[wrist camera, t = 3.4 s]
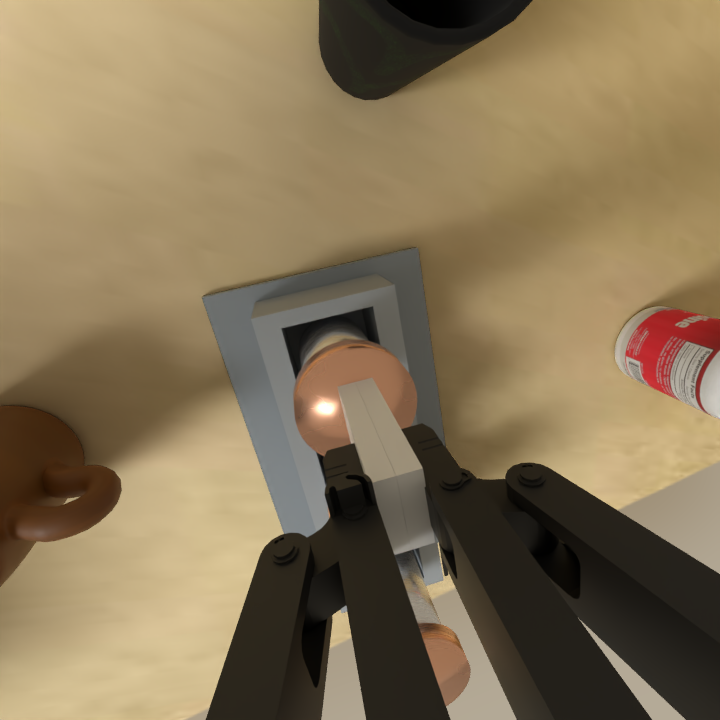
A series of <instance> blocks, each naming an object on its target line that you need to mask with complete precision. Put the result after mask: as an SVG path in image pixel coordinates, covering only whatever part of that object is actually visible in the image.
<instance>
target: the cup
mask: <svg viewBox="0 0 720 720" xmlns="http://www.w3.org/2000/svg"><path fill="white" fill-rule="evenodd" d="M531 2H532V0H319V45H320V51H321V57H322V59H323V62H324V65H325V67H326V70H327V71H328V73H329V74H330V76H331V78H332V79H333V81H334V82H335V83H336V84H337V85H338V86H339V87H340V88H341V89H342V90H343V91H345V92H347V93H348V94H350V95H352V96H353V97H357V98H360V99H364V100H377V99H380V98H383V97H387V96H389V95H390V94H392V93H394V92H395V91H397V90H399V89H400V88H402V87H404V86H406V85H407V84H409V83H411V82H412V81H414V80H416V79H417V78H419V77H421V76H423V75H424V74H426V73H428V72H429V71H431V70H433V69H435V68H436V67H438V66H440V65H441V64H443V63H445V62H446V61H448V60H450V59H452V58H453V57H455V56H457V55H458V54H460V53H462V52H463V51H465V50H467V49H469V48H470V47H472V46H474V45H475V44H477V43H479V42H480V41H482V40H484V39H486V38H487V37H489V36H491V35H492V34H494V33H495V32H497V31H498V30H500V29H501V28H503V27H505V26H506V25H508V24H509V23H511V22H512V21H514V20H515V19H516V18H517V17H518V16H519V14H520V13H521V12H522V11H523V10H524V9H525V8H526V7H527V6H528V5H529V4H530V3H531Z"/></svg>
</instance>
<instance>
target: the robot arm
mask: <svg viewBox="0 0 720 720" xmlns="http://www.w3.org/2000/svg"><path fill="white" fill-rule="evenodd" d="M338 392H339V396H340V400H341V404H342V408H343V412H344V416H345V421H346V425H347V429H348V433H349V437H350V441H351V444H349V445H345V446H341V447H338V448H334V449H331V450H327V452H326V454H325V457H324V459H323V464H324V469H325V475H326V481H327V486H326V488H325V494H324V495H325V498H326V502H327V505H328V509H329V512H330V518H329V519H328V521H327V523H326V524H325V525H324V526H323V527H322V528H321V529H320V530H318V531H317V532H315V533H314V534H312V535H310V536H309V537H307V538H306V536H304V535H302V534H300V533H286V534H283V535H280V536H278V537H276V538H275V539H273V540H271V541H270V542H269V543H268V544H267V545H266V546H265V547H264V549H263V551H262V553H261V555H260V557H259V560H258V564H257V567H256V570H255V573H254V576H253V579H252V582H251V585H250V588H249V591H248V594H247V597H246V600H245V603H244V606H243V609H242V612H241V615H240V618H239V621H238V624H237V627H236V630H235V633H234V636H233V639H232V642H231V645H230V648H229V651H228V654H227V657H226V660H225V663H224V666H223V669H222V672H221V675H220V678H219V681H218V684H217V687H216V690H215V693H214V696H213V699H212V702H211V705H210V708H209V711H208V714H207V718H206V720H321V717H322V708H323V699H324V690H325V681H326V673H327V663H328V655H329V646H330V637H331V629H332V615H333V614H334V613H336V612H337V611H339V610H340V609H342V608H343V607H345V606H347V612H348V617H349V623H350V629H351V635H352V640H353V646H354V651H355V657H356V663H357V669H358V674H359V680H360V686H361V692H362V697H363V703H364V709H365V715H366V720H450V717H449V714H448V711H447V708H446V705H445V702H444V699H443V696H442V694H441V691H440V688H439V685H438V682H437V679H436V676H435V673H434V670H433V667H432V664H431V661H430V658H429V655H428V652H427V649H426V646H425V643H424V641H423V638H422V635H421V632H420V629H419V626H418V623H417V620H416V617H415V614H414V611H413V608H412V605H411V602H410V599H409V596H408V593H407V590H406V587H405V585H404V582H403V579H402V576H401V573H400V570H399V567H398V564H397V561H396V558H395V555H396V554H400V553H403V552H406V551H409V550H413V549H416V548H419V547H422V546H426V545H429V544H432V543H435V538H434V533H435V535H436V537H437V539H438V541H439V546H440V552H441V558H442V564H443V570H444V575H445V576H447V575H448V572H449V574H450V576H451V578H452V580H453V583H454V585H455V587H456V589H457V591H458V593H459V595H460V598H461V600H462V602H463V604H464V606H465V609H466V610H467V612H468V615H469V617H470V619H471V621H472V624H473V626H474V628H475V630H476V632H477V634H478V637H479V638H480V641H481V643H482V645H483V647H484V650H485V652H486V654H487V656H488V658H489V660H490V662H491V664H492V667H493V669H494V671H495V673H496V675H497V677H498V680H499V682H500V684H501V686H502V688H503V691H504V693H505V695H506V697H507V699H508V701H509V704H510V706H511V708H512V710H513V712H514V714H515V716H516V718H517V720H652V719H651V718H650V716H649V715H648V713H647V712H646V711H645V710H644V708H643V707H642V705H641V704H640V702H639V701H638V700H637V698H636V697H635V696H634V694H633V693H632V692H631V690H630V689H629V687H628V686H627V685H626V683H625V682H624V681H623V679H622V678H621V676H620V675H619V674H618V672H617V671H616V670H615V668H614V667H613V666H612V664H611V663H610V662H609V660H608V659H607V657H606V656H605V654H604V653H603V652H602V650H601V649H600V648H599V646H598V645H597V643H596V642H595V641H594V639H593V638H592V637H591V635H590V634H589V633H588V631H587V630H586V628H585V627H584V626H583V624H582V623H581V621H582V622H583V623H584V624H586V626H588V627H589V628H590V629H591V630H592V631H593V632H594V633H595V634H596V635H597V636H598V637H599V638H600V639H601V640H602V641H603V642H605V644H607V645H608V646H609V647H610V648H611V649H612V650H613V651H614V652H615V653H616V654H617V655H618V656H619V657H620V658H621V659H622V660H623V661H624V662H626V663H627V664H628V665H629V666H630V667H631V668H632V669H633V670H634V671H635V672H636V673H637V674H638V675H639V676H641V678H642V679H644V680H645V681H646V682H647V683H648V684H649V685H650V686H651V687H652V688H653V689H654V690H655V691H656V692H657V693H658V694H659V695H660V696H661V697H663V698H664V699H665V700H666V701H667V702H668V703H669V704H670V705H671V706H672V707H673V708H674V709H675V710H677V712H679V714H681V715H682V716H683V717H684V718H685V719H686V720H720V574H719V573H717V572H716V571H714V570H712V569H710V568H709V567H708V566H706V565H704V564H703V563H701V562H699V561H698V560H696V559H695V558H693V557H691V556H690V555H688V554H687V553H685V552H683V551H682V550H680V549H678V548H677V547H675V546H674V545H672V544H670V543H669V542H667V541H666V540H664V539H662V538H661V537H659V536H658V535H656V534H654V533H653V532H651V531H650V530H648V529H646V528H645V527H643V526H642V525H640V524H638V523H637V522H635V521H633V520H632V519H630V518H629V517H627V516H625V515H624V514H622V513H620V512H619V511H617V510H616V509H614V508H613V507H611V506H609V505H608V504H606V503H605V502H603V501H601V500H600V499H598V498H597V497H595V496H593V495H592V494H590V493H588V492H587V491H585V490H584V489H582V488H580V487H579V486H577V485H576V484H574V483H572V482H571V481H569V480H568V479H566V478H564V477H563V476H561V475H560V474H558V473H556V472H555V471H553V470H551V469H550V468H548V467H546V466H543V465H541V464H536V463H520V464H517V465H514V466H512V467H511V468H510V469H509V470H508V471H507V473H506V476H505V478H506V479H496V480H483V479H477V478H476V477H475V476H474V475H473V474H472V473H471V472H470V471H468V470H465V469H462V468H460V467H459V466H458V464H457V463H456V461H455V460H454V458H453V457H452V456H451V454H450V453H449V451H448V450H447V449H446V447H445V446H444V445H443V443H442V441H441V440H440V439H439V438H438V436H437V434H436V433H435V431H434V430H433V429H432V428H430V427H428V426H426V425H425V424H423V423H421V424H418V425H414V426H410V427H407V428H403V429H401V428H400V426H399V425H398V423H397V421H396V419H395V417H394V416H393V414H392V412H391V410H390V408H389V407H388V405H387V403H386V401H385V399H384V398H383V396H382V394H381V392H380V390H379V389H378V387H377V385H376V383H375V381H374V380H373V378H368V379H365V380H361V381H357V382H353V383H349V384H345V385H342V386H338ZM433 531H434V532H433ZM578 618H579V619H580V620H581V621H580V620H579V619H578Z"/></svg>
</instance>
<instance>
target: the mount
mask: <svg viewBox="0 0 720 720" xmlns="http://www.w3.org/2000/svg"><path fill="white" fill-rule="evenodd" d="M202 299H203V302H204V305H205V308H206V311H207V314H208V317H209V320H210V322H211V325H212V328H213V331H214V334H215V337H216V340H217V342H218V345H219V348H220V351H221V354H222V357H223V360H224V363H225V365H226V368H227V371H228V374H229V377H230V380H231V383H232V386H233V388H234V391H235V394H236V397H237V400H238V403H239V406H240V409H241V411H242V414H243V417H244V420H245V423H246V426H247V429H248V431H249V434H250V437H251V440H252V443H253V446H254V449H255V452H256V454H257V457H258V460H259V463H260V466H261V469H262V472H263V475H264V477H265V480H266V483H267V486H268V489H269V492H270V495H271V498H272V500H273V503H274V506H275V509H276V512H277V515H278V518H279V520H280V523H281V526H282V529H283V532H284V534H286V533H300V534H302V535H304V536H306V538H307V537H309V536H310V535H312V534H314V533H315V532H317V531H318V530H320V529H321V528H322V527H323V526H324V525H325V524H326V523H327V521H328V519H329V515H328V505H327V502H326V498H325V495H324V494H325V488H326V486H327V481H326V475H325V469H324V464H323V459H324V456H322V455H320V454H318V453H317V452H316V451H314V450H313V449H312V448H311V447H310V446H309V445H307V443H306V442H305V441H304V440H303V438H302V436H301V435H300V433H299V431H298V428H297V425H296V421H295V415H294V403H293V391H294V386H295V382H296V379H297V376H298V374H299V372H300V370H301V369H302V368H301V361H300V355H299V343H300V339H301V337H302V334H303V333H304V331H305V330H306V328H307V327H308V326H309V325H310V324H311V323H313V322H314V321H316V320H318V319H323V318H327V317H331V316H342V317H345V318H348V319H350V320H352V321H353V322H354V323H356V324H357V325H358V326H359V328H360V329H361V330H362V332H363V333H364V335H365V336H366V337H367V339H368V340H369V341H371V342H374V343H377V344H379V345H381V346H383V347H385V348H386V349H388V350H389V351H390V352H391V353H392V354H394V355H395V356H396V358H397V359H398V360H399V361H400V362H401V364H402V365H403V366H404V367H405V369H406V370H407V371H408V372H409V374H410V376H411V377H412V379H413V382H414V384H415V388H416V392H417V409H416V414H415V417H414V420H413V423H412V425H411V426H414V425H418V424H421V423H423V424H425V425H426V426H428V427H430V428H432V429H433V430H434V431H435V433H436V434H437V436H438V438H439V439H440V440H441V441H442V443H443V445H444V446H445V447H446V445H445V438H444V431H443V424H442V416H441V409H440V402H439V395H438V388H437V380H436V373H435V366H434V359H433V352H432V344H431V337H430V330H429V323H428V316H427V308H426V301H425V294H424V287H423V280H422V272H421V265H420V258H419V251H418V248H416V247H414V248H410V249H405V250H401V251H396V252H392V253H388V254H383V255H379V256H375V257H370V258H366V259H362V260H357V261H353V262H349V263H344V264H340V265H336V266H331V267H327V268H323V269H318V270H314V271H310V272H305V273H301V274H296V275H292V276H288V277H283V278H279V279H275V280H270V281H266V282H262V283H257V284H253V285H249V286H244V287H240V288H236V289H231V290H227V291H223V292H218V293H214V294H210V295H205V296H203V297H202ZM433 532H434V531H433ZM434 538H435V543H432V544H429V545H426V546H422V547H419V548H416V549H413V550H412V552H413V554H414V557H415V559H416V562H417V564H418V567H419V569H420V572H421V575H422V577H423V580H424V582H425V585H426V586H427V585H430V584H433V583H437V582H440V581H443V575H442V569H441V563H440V556H439V550H438V544H437V543H438V542H439V541H438V539H437V537H436V535H435V533H434ZM340 610H341V613H344V612H347V606H345V607H343V608H342V609H340Z"/></svg>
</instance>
